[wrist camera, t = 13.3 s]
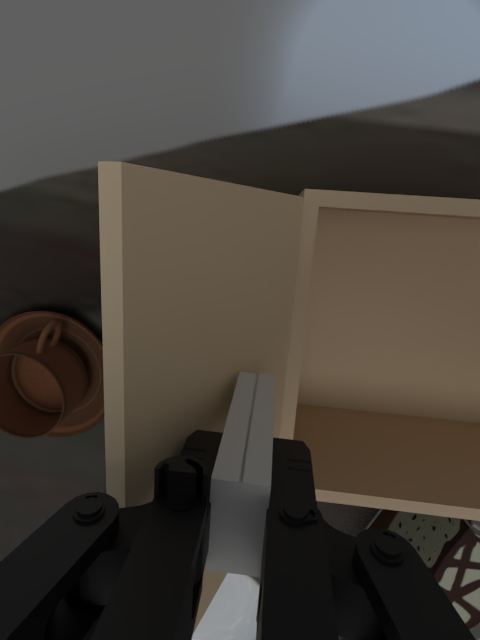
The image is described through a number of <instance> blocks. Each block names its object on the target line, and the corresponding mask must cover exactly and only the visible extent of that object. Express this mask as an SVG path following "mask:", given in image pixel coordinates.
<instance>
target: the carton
mask: <svg viewBox="0 0 480 640" xmlns="http://www.w3.org/2000/svg"><path fill="white" fill-rule="evenodd" d="M298 196H301V197H304V201H303V211H302V221H301V230H300V240H299V250H298V260H297V270H296V280H295V290H294V300H293V309H292V319H291V329H290V339H289V349H288V359H287V369H286V378H285V388H284V398H283V408H282V418H281V428H280V438H282V439H291V440H299V441H303V442H304V443H305V444H306V446H307V447H308V448H309V449H310V451H311V459H312V468H313V476H314V485H315V494H316V501H323V502H331V503H339V504H347V505H355V506H363V507H371V508H379V509H387V510H395V511H403V512H411V513H419V514H427V515H435V516H443V517H451V518H459V519H467V520H475V521H480V200H478V199H462V198H446V197H430V196H413V195H397V194H381V193H365V192H349V191H333V190H317V189H304V190H303V191H302V192H301V193H300V194H299V195H298Z"/></svg>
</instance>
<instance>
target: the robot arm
mask: <svg viewBox="0 0 480 640" xmlns="http://www.w3.org/2000/svg"><path fill="white" fill-rule="evenodd" d="M275 383H276V376H275V375H266V374H256V373H247V372H239V376H238V379H237V383H236V387H235V391H234V394H233V398H232V402H231V406H230V409H229V413H228V417H227V421H226V424H225V428H224V432H223V433H221V432H213V431H204V430H196V431H195V432H193V433H192V434H191V435H190V436H188V437H187V439H186V441H185V444H184V446H183V449H182V451H181V453H180V455H177V456H173V457H169V458H166V459H164V460H163V461H161V462H159V463H158V465H157V466H156V467H155V468H154V498H153V500H152V501H151V502H149V503H146V504H144V505H139V506H133V507H124V508H119V504H118V502H117V501H116V499H115V498H114V497H112V496H110V495H109V494H105V493H99V492H95V493H86V494H83V495H80V496H78V497H75V498H74V499H72V500H71V501H69V502H68V503H66V504H65V505H64V506H63V507H62V508H61V509H59V510H58V511H57V512H56V513H55V514H54V515H53V516H52V517H50V518H49V519H48V520H47V521H46V522H45V523H44V524H43V525H41V526H40V527H39V528H38V529H37V530H36V531H35V532H34V533H32V534H31V535H30V536H29V537H28V538H27V539H26V540H25V541H23V542H22V543H21V544H20V545H19V546H18V547H17V548H16V549H14V550H13V551H12V552H11V553H10V554H9V555H8V556H7V557H6V558H4V559H3V560H2V561H1V562H0V640H192V635H193V631H194V626H195V621H196V616H197V612H198V607H199V602H200V598H201V593H202V585H203V573H204V568H205V564H206V570H212V571H219V572H225V573H232V574H240V575H247V576H254V577H260V588H259V597H258V607H257V616H256V622H257V629H256V640H339V639H338V636H340V638H341V640H476V639H475V638H474V636H473V635H472V633H471V632H470V630H469V629H468V627H467V626H466V624H465V623H464V621H463V620H462V618H461V617H460V615H459V614H458V612H457V611H456V609H455V608H454V606H453V605H452V603H451V602H450V600H449V599H448V597H447V596H446V594H445V593H444V591H443V590H442V588H441V587H440V585H439V584H438V582H437V581H436V579H435V578H434V576H433V575H432V573H431V572H430V570H429V569H428V567H427V566H426V564H425V563H424V561H423V560H422V558H421V557H420V556H419V554H418V553H417V551H416V550H415V548H414V547H413V546H412V545H411V544H410V543H409V542H408V541H407V540H406V539H405V538H403V537H402V536H400V535H399V534H397V533H395V532H392V531H390V530H387V529H383V528H369V529H365V530H363V531H362V532H361V533H360V534H359V535H358V537H357V538H356V537H353V536H350V535H348V534H345V533H343V532H341V531H339V530H337V529H335V528H333V527H332V526H330V525H329V524H328V523H327V522H326V521H325V520H324V519H323V517H322V515H321V512H320V511H319V510H318V508H317V503H316V494H315V485H314V476H313V468H312V459H311V451H310V449H309V448H308V447H307V446H306V444H305V443H304V442H303V441H299V440H291V439H282V438H274V437H273V429H274V406H275Z"/></svg>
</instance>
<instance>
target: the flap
mask: <svg viewBox="0 0 480 640" xmlns="http://www.w3.org/2000/svg"><path fill="white" fill-rule="evenodd" d="M98 184H99V223H100V262H101V300H102V339H103V378H104V417H105V456H106V494H109V495H110V496H112V497H114V498H115V499H116V501H117V502H118V504H119V508H124V507H133V506H139V505H144V504H146V503H149V502H151V501H152V500H153V498H154V468H155V467H156V466H157V465H158V463H159V462H161V461H163V460H164V459H166V458H169V457H173V456H177V455H180V453H181V451H182V449H183V446H184V444H185V441H186V439H187V437H188V436H190V435H191V434H192V433H193V432H195V431H196V430H204V431H213V432H221V433H223V432H224V428H225V424H226V421H227V417H228V413H229V409H230V406H231V402H232V398H233V394H234V391H235V387H236V383H237V379H238V376H239V372H247V373H256V374H266V375H275V376H276V383H275V406H274V429H273V437H274V438H280V428H281V418H282V408H283V398H284V388H285V378H286V369H287V359H288V349H289V339H290V329H291V319H292V309H293V300H294V290H295V280H296V270H297V260H298V250H299V240H300V230H301V221H302V211H303V201H304V197H301V196H296V195H291V194H286V193H280V192H275V191H270V190H265V189H260V188H254V187H249V186H244V185H239V184H234V183H229V182H223V181H218V180H213V179H208V178H203V177H197V176H192V175H187V174H182V173H177V172H171V171H166V170H161V169H156V168H151V167H146V166H140V165H135V164H130V163H125V162H108V161H98ZM226 575H227V573H225V572H219V571H212V570H206V564H205V568H204V573H203V585H202V593H201V598H200V602H199V607H198V612H197V616H196V621H195V626H194V631H193V633H194V632H195V630H196V628H197V626H198V624H199V623H200V621H201V619H202V617H203V616H204V614H205V612H206V610H207V609H208V607H209V605H210V603H211V601H212V600H213V598H214V596H215V594H216V593H217V591H218V589H219V587H220V586H221V584H222V582H223V580H224V579H225V577H226Z"/></svg>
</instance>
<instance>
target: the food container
mask: <svg viewBox="0 0 480 640" xmlns="http://www.w3.org/2000/svg"><path fill="white" fill-rule="evenodd" d="M369 528H383V529H387V530H390V531H392V532H395V533H397V534H399V535H400V536H402V537H403V538H405V539H406V540H407V541H408V542H409V543H410V544H411V545H412V546H413V547H414V548H415V550H416V551H417V553H418V554H419V556H420V557H421V558H422V560H423V561H424V563H425V564H426V566H427V567H428V569H429V570H430V572H431V573H432V575H433V576H434V578H435V579H436V581H437V582H438V584H439V585H440V587H441V588H442V590H443V591H444V593H445V594H446V596H447V597H448V599H449V600H450V602H451V603H452V605H453V606H454V608H455V609H456V611H457V612H458V614H459V615H460V617H461V618H462V620H463V621H464V623H465V624H466V626H467V627H468V629H469V630H470V632H471V633H472V635H473V636H474V638H475V639H476V640H480V521H475V520H467V519H459V518H451V517H443V516H435V515H427V514H419V513H411V512H403V511H395V510H387V509H379V510H378V512H377V513H376V514H375V516H374V517H373V518H372V520H371V521H370V522H369V524H368V525H367V526H366V527H365V529H369ZM365 529H364V530H365Z"/></svg>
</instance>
